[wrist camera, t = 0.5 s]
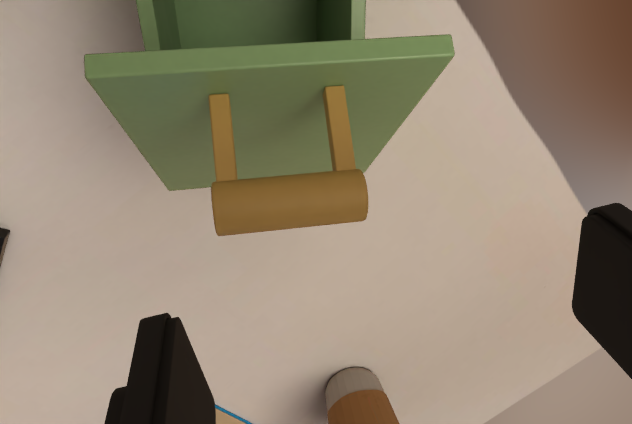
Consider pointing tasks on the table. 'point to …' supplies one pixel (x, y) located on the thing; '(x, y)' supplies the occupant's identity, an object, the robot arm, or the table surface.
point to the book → (228, 417)
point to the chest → (247, 22)
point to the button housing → (3, 242)
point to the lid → (270, 121)
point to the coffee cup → (357, 399)
